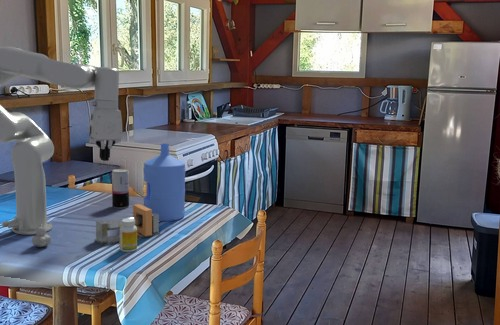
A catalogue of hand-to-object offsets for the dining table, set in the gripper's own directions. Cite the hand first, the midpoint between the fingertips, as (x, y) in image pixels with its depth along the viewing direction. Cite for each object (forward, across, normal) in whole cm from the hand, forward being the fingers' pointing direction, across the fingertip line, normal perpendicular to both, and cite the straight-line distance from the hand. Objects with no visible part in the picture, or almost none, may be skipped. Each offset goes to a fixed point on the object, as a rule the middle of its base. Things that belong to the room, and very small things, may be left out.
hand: (104, 160), depth 176 cm
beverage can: (+26, +19, +27) cm, 42 cm away
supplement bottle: (+25, 0, -20) cm, 32 cm away
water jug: (+25, +27, +6) cm, 38 cm away
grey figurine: (+26, -21, -4) cm, 34 cm away
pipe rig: (+25, +5, -9) cm, 27 cm away
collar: (+25, +10, -9) cm, 28 cm away
